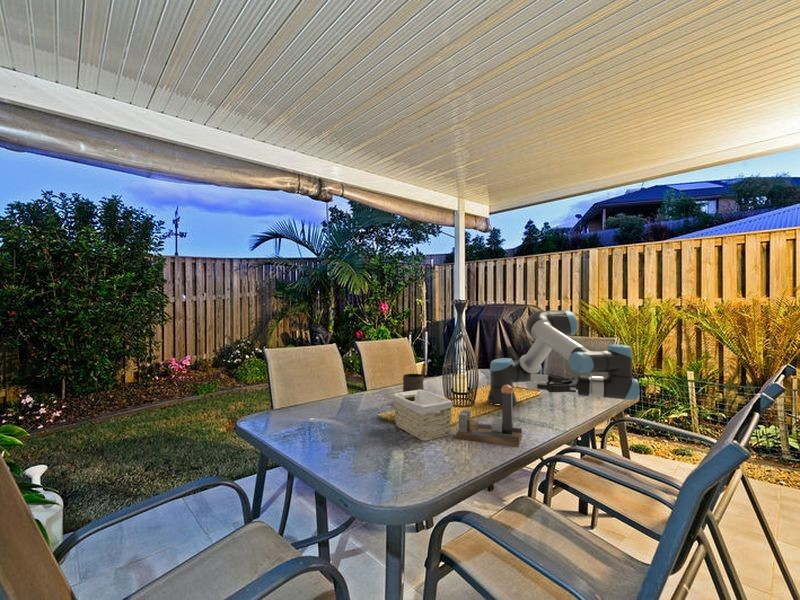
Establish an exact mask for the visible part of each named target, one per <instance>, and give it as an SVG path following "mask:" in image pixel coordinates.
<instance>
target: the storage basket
mask: <svg viewBox="0 0 800 600" xmlns="http://www.w3.org/2000/svg"><path fill="white" fill-rule="evenodd" d="M414 396H415V397H414ZM409 397H414V399H415V401H409V400H407V399H405V398H409ZM392 401H393V407H394V418H395V426H397V427H398V428H400V429H402V430H403V431H405V432H407V433H408V434H410V435H411V436H413V437H415V438H417V439H418V440H420V441H421V442H427V441H432V440H433V439H435V440H436V439H438V438H442V437H447V436H449V435H451V425H452V408H453V406H454V405H453V402H452V401H451V400H450V399H448V398H446V397H444V396H441V395H439V394H435V393H433V392H431V391H427V390H425V389H423V390H421V389H420V390H414V391H407V392H403V391H402V392H401V391H400V392H397V393H393V395H392Z"/></svg>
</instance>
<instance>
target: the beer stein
mask: <svg viewBox="0 0 800 600" xmlns="http://www.w3.org/2000/svg"><path fill="white" fill-rule="evenodd" d="M424 379H425V377H424V375H423V374H421V373H407V374H404V375H403V377H402V380H403V381H402V383H403V385H402V392H407V391H414V390H420V389H421V390H424ZM414 397H415V396H414ZM414 397H409V398H405V399H407V400H409V401H415V399H414Z"/></svg>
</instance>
